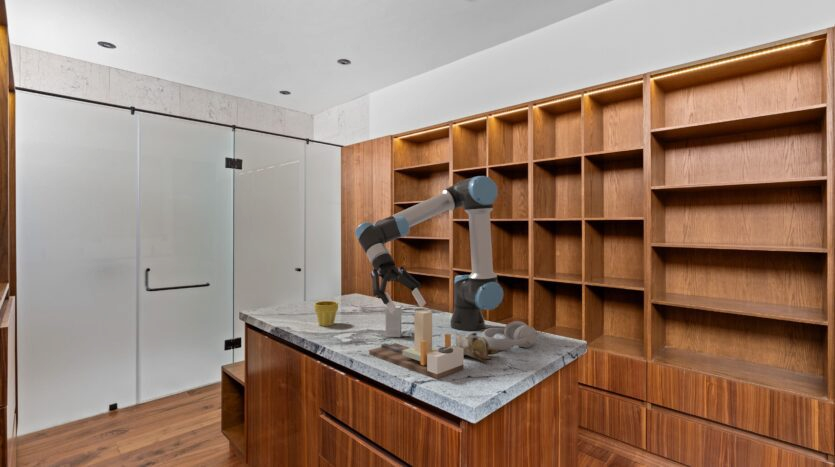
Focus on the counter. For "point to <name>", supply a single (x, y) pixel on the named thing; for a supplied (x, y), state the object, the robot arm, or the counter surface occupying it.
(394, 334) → the skincare box
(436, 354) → the cream rectangular block
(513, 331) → the headphones
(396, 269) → the robot arm
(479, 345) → the ceramic sculpture
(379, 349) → the rail base
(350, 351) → the counter surface
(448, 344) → the frame
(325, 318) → the plant pot
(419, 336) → the upright wooden block
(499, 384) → the counter surface
